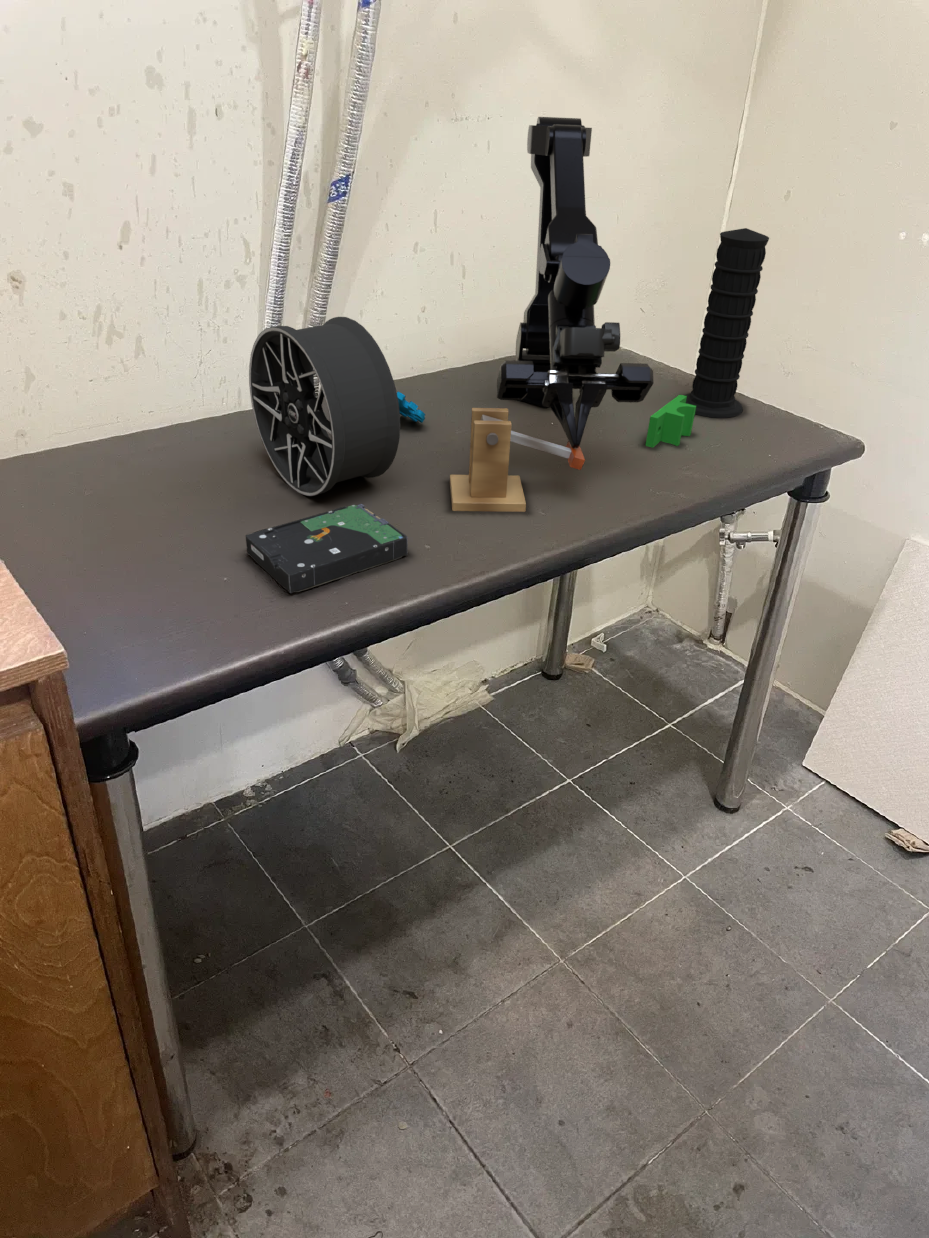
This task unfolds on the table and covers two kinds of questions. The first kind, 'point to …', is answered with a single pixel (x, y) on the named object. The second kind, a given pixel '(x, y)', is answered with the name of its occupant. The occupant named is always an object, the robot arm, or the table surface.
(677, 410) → the pipe clamp
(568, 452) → the lever
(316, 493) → the wheel rim
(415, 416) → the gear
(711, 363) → the handle grip
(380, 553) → the disk drive
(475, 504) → the bracket
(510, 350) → the table surface
